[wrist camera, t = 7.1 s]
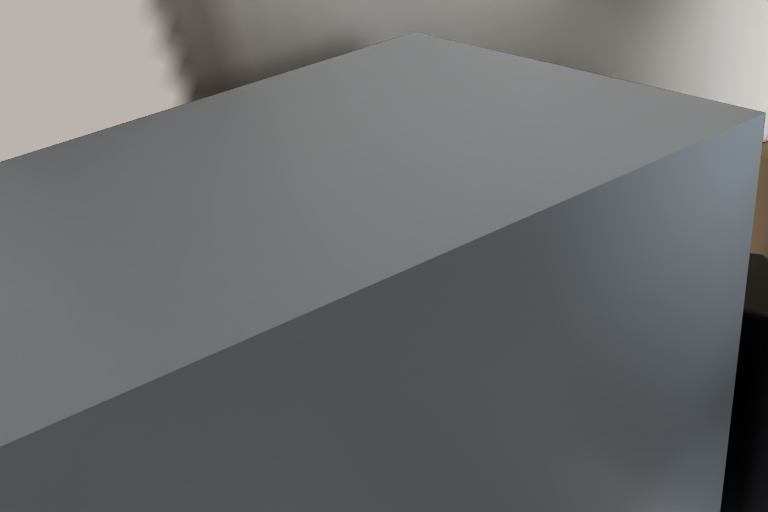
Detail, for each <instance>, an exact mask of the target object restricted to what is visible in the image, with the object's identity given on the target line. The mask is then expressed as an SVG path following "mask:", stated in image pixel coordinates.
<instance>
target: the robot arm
mask: <svg viewBox="0 0 768 512" xmlns="http://www.w3.org/2000/svg"><path fill="white" fill-rule="evenodd" d="M720 512H768V257H766V256H765V255H763V254H756V253H750V255H749V264H748V273H747V281H746V290H745V299H744V308H743V316H742V325H741V334H740V343H739V351H738V360H737V369H736V378H735V386H734V395H733V404H732V413H731V421H730V430H729V439H728V448H727V456H726V465H725V474H724V483H723V491H722V500H721V509H720Z"/></svg>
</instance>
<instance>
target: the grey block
mask: <svg viewBox="0 0 768 512" xmlns="http://www.w3.org/2000/svg"><path fill="white" fill-rule="evenodd" d="M765 115H766V113H765V112H760V111H756V110H752V109H747V108H743V107H739V106H734V105H730V104H726V103H721V102H717V101H713V100H708V99H704V98H700V97H695V96H691V95H686V94H682V93H678V92H673V91H669V90H665V89H660V88H656V87H652V86H647V85H643V84H639V83H634V82H630V81H626V80H621V79H617V78H613V77H608V76H604V75H600V74H595V73H591V72H587V71H582V70H578V69H574V68H569V67H565V66H561V65H556V64H552V63H548V62H543V61H539V60H535V59H530V58H526V57H522V56H517V55H513V54H508V53H504V52H500V51H495V50H491V49H487V48H482V47H478V46H474V45H469V44H465V43H461V42H456V41H452V40H448V39H443V38H439V37H435V36H430V35H426V34H422V33H417V32H413V33H409V34H406V35H403V36H400V37H397V38H393V39H390V40H387V41H384V42H381V43H378V44H374V45H371V46H368V47H365V48H362V49H358V50H355V51H352V52H349V53H346V54H343V55H339V56H336V57H333V58H330V59H327V60H323V61H320V62H317V63H314V64H311V65H308V66H304V67H301V68H298V69H295V70H292V71H288V72H285V73H282V74H279V75H276V76H273V77H269V78H266V79H263V80H260V81H257V82H253V83H250V84H247V85H244V86H241V87H238V88H234V89H231V90H228V91H225V92H222V93H218V94H215V95H212V96H209V97H206V98H203V99H199V100H196V101H193V102H190V103H187V104H183V105H180V106H177V107H174V108H171V109H168V110H165V111H161V112H158V113H155V114H152V115H148V116H145V117H142V118H139V119H136V120H133V121H129V122H126V123H123V124H120V125H117V126H114V127H111V128H107V129H104V130H101V131H98V132H94V133H91V134H88V135H85V136H82V137H79V138H75V139H72V140H69V141H66V142H63V143H59V144H56V145H53V146H50V147H47V148H43V149H40V150H37V151H34V152H31V153H28V154H24V155H21V156H18V157H15V158H12V159H8V160H5V161H2V162H0V512H720V509H721V500H722V491H723V483H724V474H725V465H726V456H727V448H728V439H729V430H730V421H731V413H732V404H733V395H734V386H735V378H736V369H737V360H738V351H739V343H740V334H741V325H742V316H743V308H744V299H745V290H746V281H747V273H748V264H749V255H750V247H751V238H752V229H753V220H754V212H755V203H756V194H757V185H758V177H759V168H760V159H761V150H762V142H763V133H764V124H765Z"/></svg>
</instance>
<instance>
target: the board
mask: <svg viewBox="0 0 768 512" xmlns="http://www.w3.org/2000/svg"><path fill="white" fill-rule="evenodd" d="M750 253H756V254H763V255H765V256H766V257H768V142H766V143H764V144H762V150H761V159H760V168H759V177H758V185H757V194H756V203H755V212H754V220H753V229H752V238H751V247H750Z"/></svg>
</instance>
